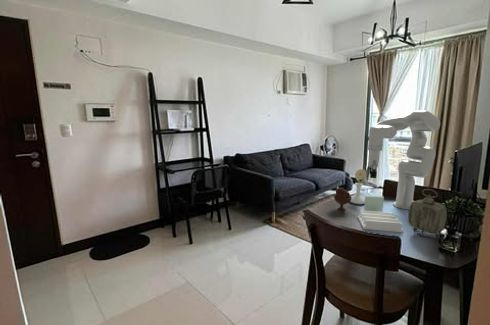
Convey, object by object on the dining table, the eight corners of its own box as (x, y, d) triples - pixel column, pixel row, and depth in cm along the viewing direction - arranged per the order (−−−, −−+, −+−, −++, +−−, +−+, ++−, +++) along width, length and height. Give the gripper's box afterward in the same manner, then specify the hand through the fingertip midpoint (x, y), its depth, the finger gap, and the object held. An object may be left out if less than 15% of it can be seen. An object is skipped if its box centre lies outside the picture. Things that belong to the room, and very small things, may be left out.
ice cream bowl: (342, 214, 164) (344, 191, 161) (329, 208, 174) (330, 186, 171) (354, 211, 169) (356, 189, 166) (340, 205, 179) (342, 184, 176)
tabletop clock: (443, 238, 133) (450, 191, 128) (435, 243, 128) (442, 194, 123) (412, 228, 145) (418, 184, 140) (404, 232, 140) (410, 187, 135)
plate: (380, 214, 164) (382, 196, 162) (381, 216, 162) (383, 197, 159) (363, 213, 166) (365, 195, 164) (364, 214, 164) (366, 196, 161)
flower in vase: (345, 200, 190) (348, 166, 185) (360, 199, 191) (363, 166, 186) (355, 206, 177) (358, 170, 172) (370, 206, 178) (374, 170, 173)
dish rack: (394, 220, 155) (395, 212, 154) (403, 232, 140) (404, 223, 139) (357, 217, 159) (358, 210, 158) (363, 228, 144) (364, 220, 143)
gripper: (367, 145, 163) (365, 172, 166) (368, 149, 147) (366, 178, 151) (381, 145, 160) (378, 173, 163) (383, 150, 144) (380, 180, 148)
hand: (372, 175), depth 157 cm, fingers open, 9 cm apart
